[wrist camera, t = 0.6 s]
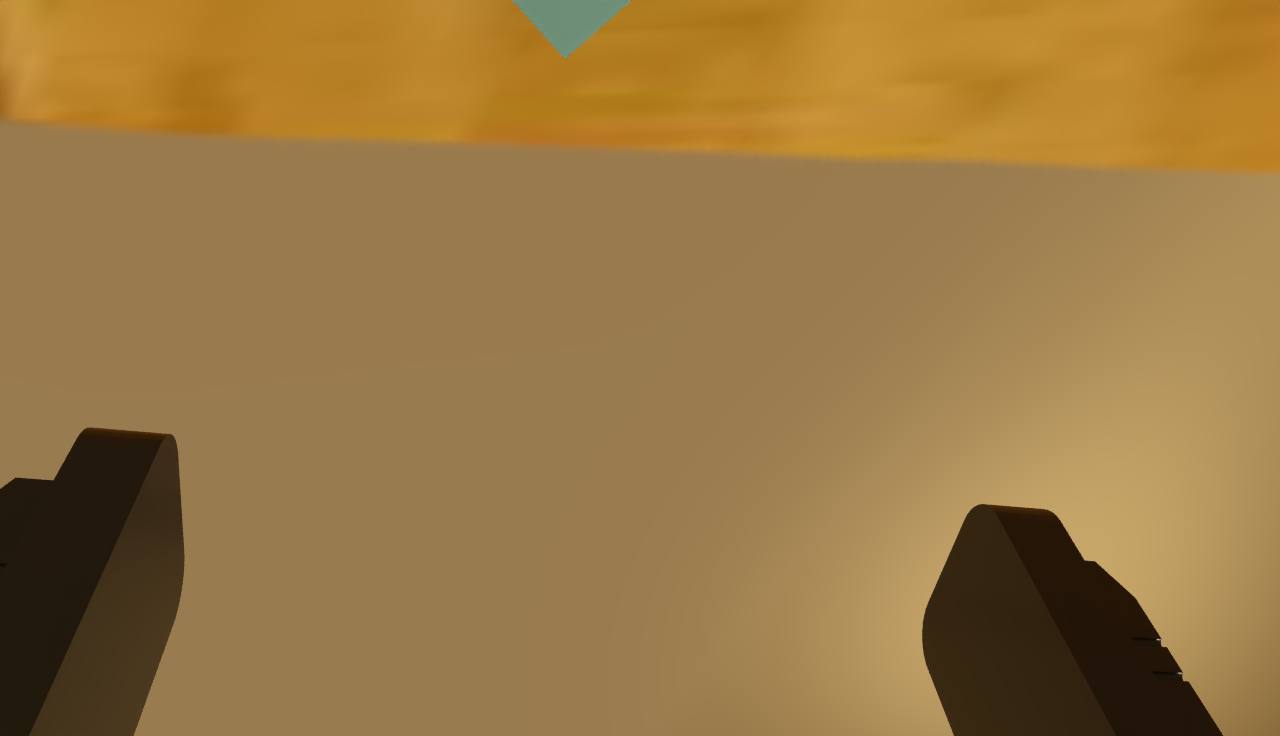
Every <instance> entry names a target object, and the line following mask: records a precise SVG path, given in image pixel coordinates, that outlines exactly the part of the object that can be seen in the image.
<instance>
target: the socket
mask: <svg viewBox="0 0 1280 736" xmlns="http://www.w3.org/2000/svg"><path fill="white" fill-rule="evenodd" d="M512 1H513V2H514V3H515V4H516V5H517V6H518V7H519V8H520V9H521V11H522V12H523V13H524V14H525V15H526V16H527V17H528V18H529V19H530V21H531V22H532V23H533V24H534V25H535V26H536V27H537V28H538V29H539V31H540V32H541V33H542V34H543V35H544V36H545V37H546V38H547V39H548V41H549V42H550V43H551V44H552V45H553V46H554V47H555V48H556V49H557V51H558V52H559V53H560V54H561V55H562V56H563V57H564V58H565V59H566V58H567V57H568V56H569V55H570V54H571V53H572V52H574V51H575V50H576V49H577V48H578V47H579V46H580V45H582V44H583V43H584V42H585V41H586V40H587V39H588V38H589V37H591V36H592V35H593V34H594V33H595V32H596V31H597V30H598V29H600V28H601V27H602V26H603V25H604V24H605V23H606V22H608V21H609V20H610V19H611V18H612V17H613V16H614V15H615V14H617V13H618V12H619V11H620V10H621V9H622V8H623V7H624V6H626V5H627V4H628V3H629V2H630V1H631V0H512Z"/></svg>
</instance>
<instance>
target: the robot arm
mask: <svg viewBox="0 0 1280 736" xmlns="http://www.w3.org/2000/svg"><path fill="white" fill-rule="evenodd" d="M178 463H179V461H178V450H177V444H176V440H175V438H174V436H173V435H171V434H162V433H150V432H137V431H126V430H114V429H102V428H86V429H84V430H83V431H82V432H81V433H80V435H79V436H78V438H77V439H76V441H75V443H74V445H73V446H72V448H71V450H70V452H69V454H68V455H67V457H66V459H65V461H64V463H63V464H62V466H61V468H60V470H59V472H58V473H57V475H56V477H55V479H54V480H39V479H26V478H15V479H13V480H12V481H11V482H9V483H8V484H6V485H5V486H4V487H2V488H1V489H0V736H134V733H135V730H136V727H137V725H138V722H139V719H140V716H141V713H142V711H143V708H144V705H145V702H146V699H147V696H148V693H149V691H150V688H151V685H152V683H153V680H154V677H155V674H156V671H157V669H158V666H159V663H160V660H161V657H162V655H163V652H164V649H165V646H166V643H167V641H168V638H169V635H170V632H171V629H172V626H173V624H174V621H175V618H176V614H177V610H178V605H179V602H180V596H181V591H182V584H183V575H184V542H183V525H182V509H181V494H180V478H179V464H178ZM922 642H923V651H924V657H925V661H926V665H927V667H928V670H929V673H930V675H931V678H932V680H933V683H934V686H935V688H936V691H937V693H938V696H939V698H940V701H941V703H942V706H943V709H944V711H945V714H946V716H947V719H948V721H949V724H950V727H951V729H952V732H953V734H954V736H1223V735H1222V733H1221V732H1220V730H1219V728H1218V727H1217V725H1216V724H1215V722H1214V721H1213V719H1212V717H1211V716H1210V714H1209V713H1208V711H1207V710H1206V708H1205V706H1204V705H1203V703H1202V702H1201V700H1200V699H1199V697H1198V695H1197V694H1196V692H1195V691H1194V689H1193V688H1192V686H1191V685H1190V683H1189V682H1187V681H1183V679H1182V674H1183V672H1182V670H1181V669H1180V667H1179V666H1178V664H1177V663H1176V661H1175V659H1174V658H1173V656H1172V655H1171V653H1170V652H1169V650H1168V648H1167V647H1162V646H1161V637H1160V636H1159V634H1158V633H1157V631H1156V630H1155V628H1154V626H1153V625H1152V623H1151V622H1150V620H1149V619H1148V617H1147V615H1146V614H1145V612H1144V611H1143V609H1142V608H1141V606H1140V605H1139V603H1138V602H1137V600H1136V598H1135V597H1134V596H1132V595H1131V594H1130V593H1129V592H1128V591H1127V590H1126V589H1125V588H1123V586H1121V585H1120V584H1119V583H1118V582H1117V581H1116V580H1115V579H1114V578H1113V577H1112V576H1110V575H1109V574H1108V573H1107V572H1106V571H1105V570H1104V569H1103V568H1101V566H1099V565H1098V564H1097V563H1096V562H1095V561H1085V560H1084V559H1083V558H1082V556H1081V554H1080V552H1079V551H1078V549H1077V547H1076V546H1075V544H1074V543H1073V541H1072V539H1071V537H1070V536H1069V534H1068V533H1067V531H1066V529H1065V528H1064V526H1063V524H1062V523H1061V521H1060V520H1059V518H1058V517H1057V516H1056V515H1055V514H1054V513H1052V512H1051V511H1049V510H1045V509H1035V508H1022V507H1011V506H998V505H987V504H980V505H977V506H975V507H974V508H973V509H971V511H970V512H969V513H968V514H967V516H966V518H965V520H964V522H963V524H962V527H961V529H960V531H959V534H958V536H957V538H956V540H955V543H954V545H953V547H952V550H951V552H950V554H949V556H948V559H947V561H946V563H945V566H944V568H943V570H942V572H941V575H940V577H939V579H938V582H937V584H936V586H935V588H934V591H933V593H932V595H931V598H930V600H929V602H928V605H927V607H926V611H925V615H924V620H923V630H922Z"/></svg>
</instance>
